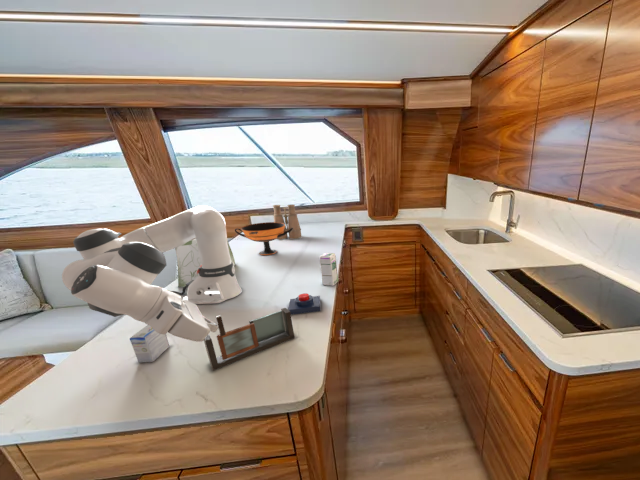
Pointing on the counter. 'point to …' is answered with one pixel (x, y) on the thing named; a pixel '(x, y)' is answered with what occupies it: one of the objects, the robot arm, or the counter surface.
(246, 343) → the sash
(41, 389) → the counter surface
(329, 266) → the syrup box
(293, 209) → the binoculars
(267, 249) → the cup
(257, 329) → the window frame
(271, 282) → the counter surface
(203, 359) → the counter surface
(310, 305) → the button box
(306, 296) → the button
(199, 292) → the robot arm
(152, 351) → the medicine box
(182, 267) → the grocery bag
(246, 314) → the counter surface
